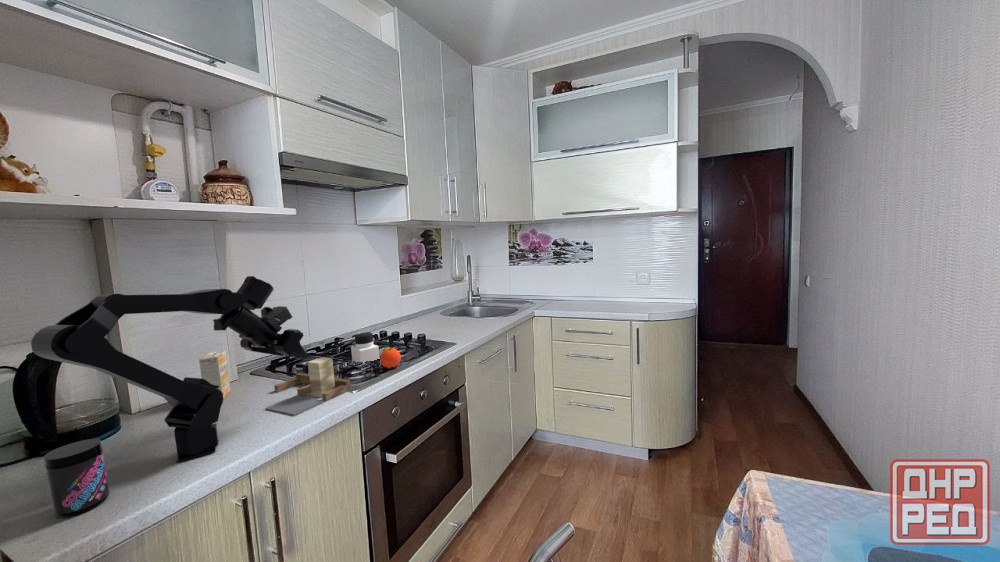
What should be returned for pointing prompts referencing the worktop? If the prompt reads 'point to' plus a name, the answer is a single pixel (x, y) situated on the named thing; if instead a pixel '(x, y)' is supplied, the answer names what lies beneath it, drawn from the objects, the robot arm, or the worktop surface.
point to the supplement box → (216, 370)
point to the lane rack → (303, 378)
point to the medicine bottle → (364, 348)
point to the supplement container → (77, 477)
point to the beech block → (321, 376)
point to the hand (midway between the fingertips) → (294, 355)
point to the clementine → (390, 357)
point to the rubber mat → (295, 405)
